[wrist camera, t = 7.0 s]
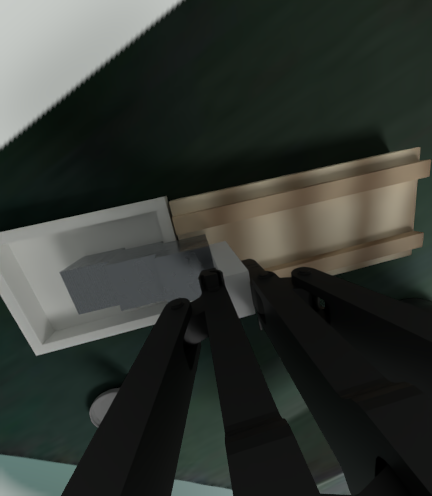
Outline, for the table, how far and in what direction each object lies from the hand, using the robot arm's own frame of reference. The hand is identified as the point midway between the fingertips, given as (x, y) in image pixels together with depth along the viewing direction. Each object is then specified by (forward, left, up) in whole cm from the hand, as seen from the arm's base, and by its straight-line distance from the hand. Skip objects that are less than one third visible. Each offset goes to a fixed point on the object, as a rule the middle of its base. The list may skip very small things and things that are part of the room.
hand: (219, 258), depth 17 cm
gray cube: (-1, +3, -2) cm, 3 cm away
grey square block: (-1, +7, -3) cm, 7 cm away
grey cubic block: (-2, +9, -3) cm, 9 cm away
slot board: (+1, -9, -5) cm, 10 cm away
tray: (-2, +11, -5) cm, 12 cm away
